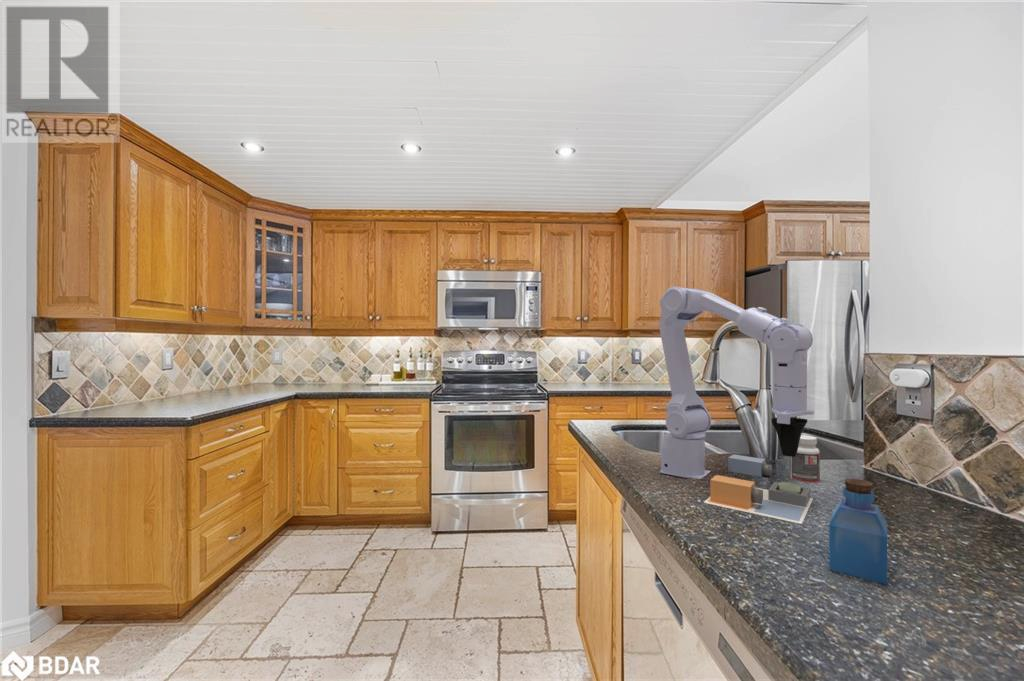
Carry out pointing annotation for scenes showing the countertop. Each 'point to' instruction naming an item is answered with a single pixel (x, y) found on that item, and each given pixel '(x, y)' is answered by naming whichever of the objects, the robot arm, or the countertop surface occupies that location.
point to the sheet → (771, 509)
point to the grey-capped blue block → (749, 466)
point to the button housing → (789, 496)
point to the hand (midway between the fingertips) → (789, 455)
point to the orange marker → (735, 491)
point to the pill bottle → (806, 461)
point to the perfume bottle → (858, 534)
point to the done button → (789, 487)
